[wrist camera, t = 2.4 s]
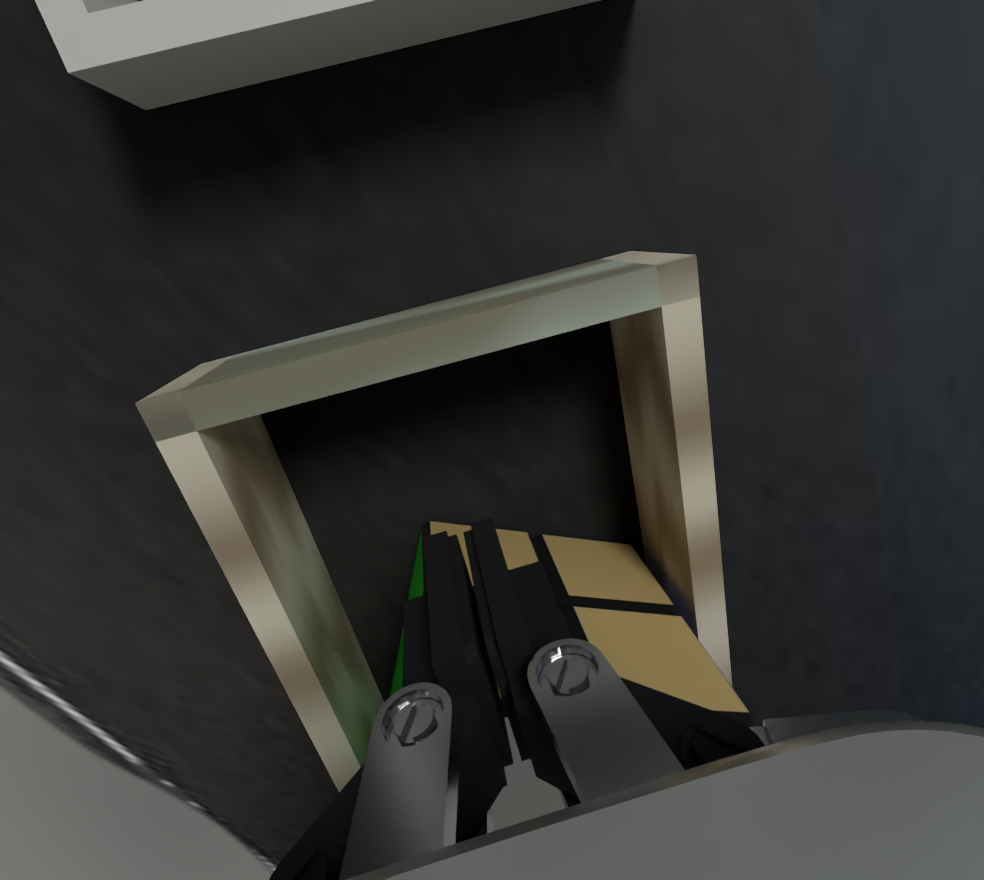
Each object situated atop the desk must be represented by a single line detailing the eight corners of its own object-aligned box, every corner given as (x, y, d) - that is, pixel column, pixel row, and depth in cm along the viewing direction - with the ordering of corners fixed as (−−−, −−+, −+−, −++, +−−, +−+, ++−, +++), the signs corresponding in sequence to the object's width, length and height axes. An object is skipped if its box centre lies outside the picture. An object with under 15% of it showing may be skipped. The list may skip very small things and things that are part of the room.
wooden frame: (709, 828, 33) (757, 924, 29) (447, 910, 33) (453, 1021, 28) (638, 249, 20) (706, 252, 15) (193, 365, 19) (124, 406, 15)
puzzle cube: (579, 704, 28) (661, 933, 19) (389, 694, 26) (375, 946, 17) (635, 541, 25) (766, 721, 16) (422, 516, 23) (428, 704, 14)
